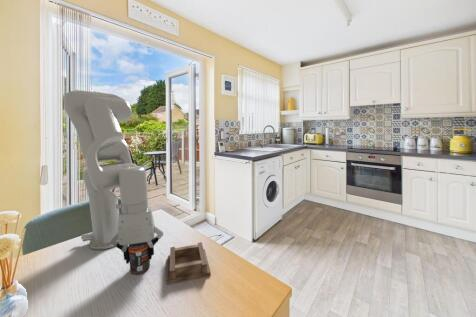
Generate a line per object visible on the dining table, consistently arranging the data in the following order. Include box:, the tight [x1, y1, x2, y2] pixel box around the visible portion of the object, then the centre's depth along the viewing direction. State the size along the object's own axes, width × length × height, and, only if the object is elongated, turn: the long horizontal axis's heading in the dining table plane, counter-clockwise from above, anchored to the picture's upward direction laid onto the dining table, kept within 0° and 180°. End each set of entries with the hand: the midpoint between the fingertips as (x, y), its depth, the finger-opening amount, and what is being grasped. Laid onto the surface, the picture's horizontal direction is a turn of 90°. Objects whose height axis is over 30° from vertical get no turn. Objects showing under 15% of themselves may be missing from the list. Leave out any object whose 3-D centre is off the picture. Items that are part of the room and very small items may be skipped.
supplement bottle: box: [128, 242, 151, 275], centre depth 68 cm, size 6×6×11 cm
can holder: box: [166, 241, 212, 285], centre depth 69 cm, size 13×13×4 cm
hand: (139, 258), depth 68 cm, fingers closed on supplement bottle, 5 cm apart
